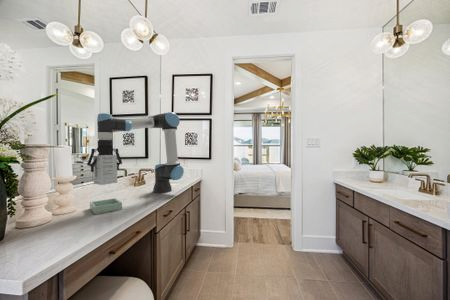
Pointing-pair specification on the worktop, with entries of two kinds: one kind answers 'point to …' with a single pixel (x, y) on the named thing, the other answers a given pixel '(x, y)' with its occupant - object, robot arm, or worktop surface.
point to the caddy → (105, 206)
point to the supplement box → (105, 169)
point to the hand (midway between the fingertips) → (105, 176)
